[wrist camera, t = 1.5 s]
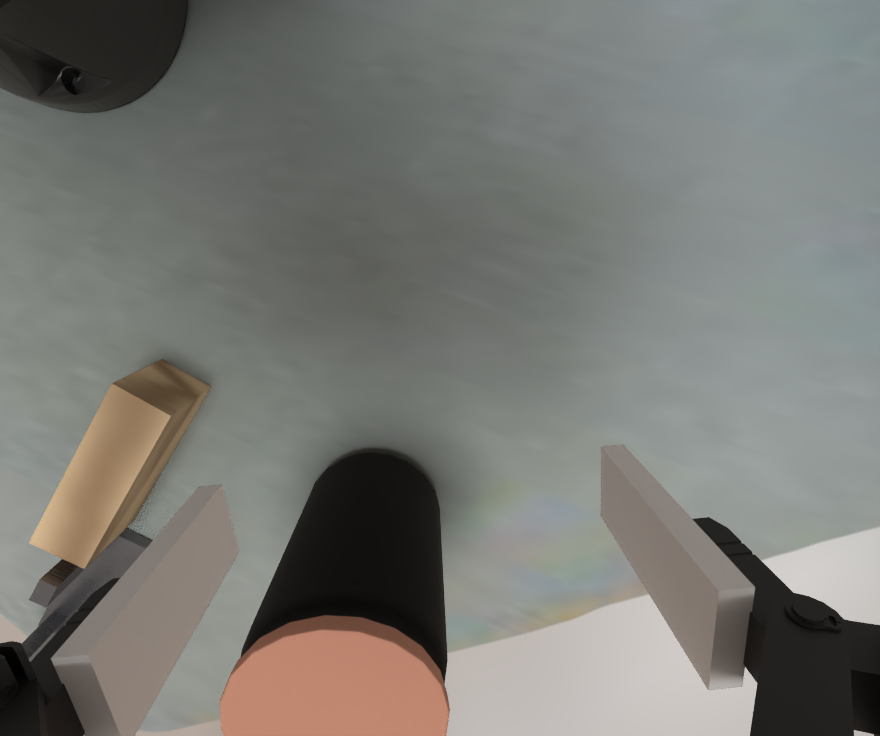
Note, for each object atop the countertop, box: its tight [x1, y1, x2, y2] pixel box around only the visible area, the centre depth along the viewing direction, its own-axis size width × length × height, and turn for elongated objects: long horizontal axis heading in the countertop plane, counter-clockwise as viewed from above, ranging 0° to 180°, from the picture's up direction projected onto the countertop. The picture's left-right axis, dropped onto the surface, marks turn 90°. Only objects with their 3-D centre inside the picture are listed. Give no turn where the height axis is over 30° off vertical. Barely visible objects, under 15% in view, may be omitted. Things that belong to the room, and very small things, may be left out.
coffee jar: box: [220, 453, 450, 736], centre depth 30 cm, size 11×11×18 cm
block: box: [29, 360, 211, 569], centre depth 34 cm, size 4×14×6 cm, turn 146°
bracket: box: [21, 528, 152, 662], centre depth 37 cm, size 9×12×7 cm
